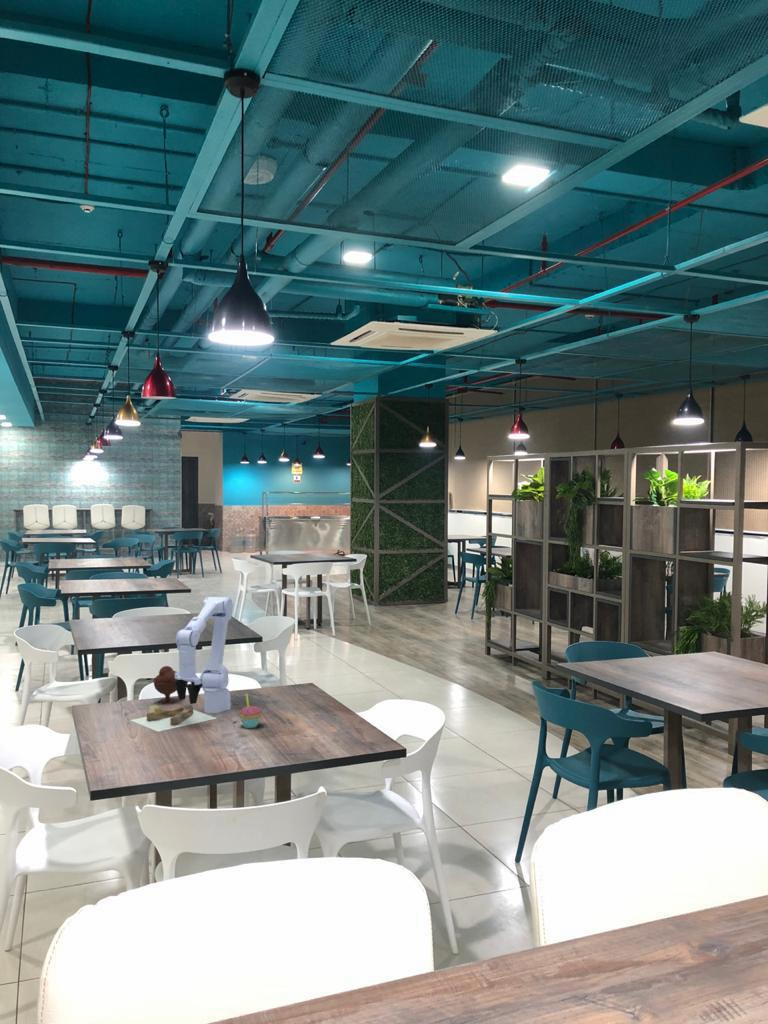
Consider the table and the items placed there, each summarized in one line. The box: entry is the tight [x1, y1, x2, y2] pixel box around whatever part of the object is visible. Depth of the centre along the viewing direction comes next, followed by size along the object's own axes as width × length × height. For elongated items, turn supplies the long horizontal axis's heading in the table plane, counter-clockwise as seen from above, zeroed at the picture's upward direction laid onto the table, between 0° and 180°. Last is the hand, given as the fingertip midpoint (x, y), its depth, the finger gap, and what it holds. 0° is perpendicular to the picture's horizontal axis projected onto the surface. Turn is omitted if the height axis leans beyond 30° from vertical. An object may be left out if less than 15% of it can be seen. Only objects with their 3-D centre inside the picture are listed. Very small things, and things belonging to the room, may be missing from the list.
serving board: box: [130, 709, 218, 732], centre depth 296 cm, size 24×20×1 cm
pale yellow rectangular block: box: [148, 704, 163, 714], centre depth 296 cm, size 3×4×2 cm
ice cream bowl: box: [153, 665, 177, 704], centre depth 321 cm, size 11×11×15 cm
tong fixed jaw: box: [146, 704, 194, 722], centre depth 299 cm, size 18×4×3 cm, turn 134°
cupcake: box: [237, 692, 264, 729], centre depth 291 cm, size 9×8×12 cm
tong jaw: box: [170, 708, 192, 725], centre depth 295 cm, size 14×2×2 cm, turn 169°
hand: (187, 701), depth 288 cm, fingers open, 7 cm apart
